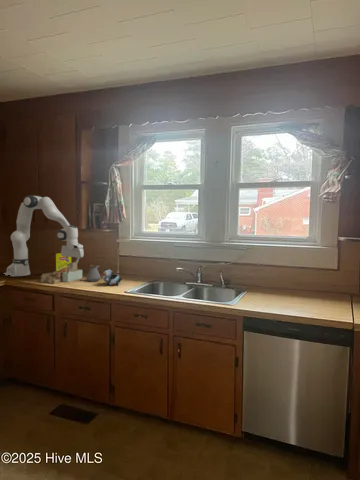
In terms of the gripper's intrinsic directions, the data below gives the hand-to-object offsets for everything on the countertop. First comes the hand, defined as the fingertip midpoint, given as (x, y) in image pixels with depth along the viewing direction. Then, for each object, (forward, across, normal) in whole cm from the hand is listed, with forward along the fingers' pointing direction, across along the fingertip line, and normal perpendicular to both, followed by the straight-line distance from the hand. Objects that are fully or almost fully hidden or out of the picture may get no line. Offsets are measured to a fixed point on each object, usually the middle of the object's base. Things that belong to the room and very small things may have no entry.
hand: (72, 262), depth 285 cm
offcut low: (+15, -8, -9) cm, 19 cm away
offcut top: (+11, -7, -10) cm, 16 cm away
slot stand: (+15, 0, 0) cm, 15 cm away
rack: (+15, -9, -9) cm, 20 cm away
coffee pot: (+14, +18, +9) cm, 25 cm away
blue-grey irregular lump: (+14, +39, 0) cm, 41 cm away
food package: (+15, -18, +11) cm, 26 cm away
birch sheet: (+15, 0, 0) cm, 15 cm away
